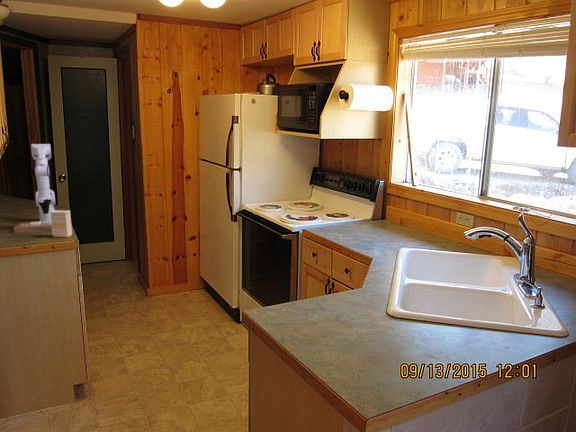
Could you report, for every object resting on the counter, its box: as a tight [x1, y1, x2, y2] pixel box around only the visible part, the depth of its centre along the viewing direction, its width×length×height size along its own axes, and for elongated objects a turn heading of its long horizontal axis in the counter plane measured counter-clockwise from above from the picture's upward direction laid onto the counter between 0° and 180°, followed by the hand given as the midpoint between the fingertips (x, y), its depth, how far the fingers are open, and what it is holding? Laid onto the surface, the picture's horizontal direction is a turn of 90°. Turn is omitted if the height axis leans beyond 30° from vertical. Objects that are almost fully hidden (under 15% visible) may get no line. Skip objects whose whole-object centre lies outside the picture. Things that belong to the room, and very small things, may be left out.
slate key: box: [42, 221, 51, 225], centre depth 263 cm, size 4×4×2 cm
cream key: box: [30, 220, 41, 226], centre depth 261 cm, size 4×4×2 cm
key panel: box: [13, 221, 52, 234], centre depth 262 cm, size 13×18×2 cm
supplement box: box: [50, 209, 73, 238], centre depth 247 cm, size 8×5×13 cm, turn 84°
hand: (46, 213), depth 261 cm, fingers closed
